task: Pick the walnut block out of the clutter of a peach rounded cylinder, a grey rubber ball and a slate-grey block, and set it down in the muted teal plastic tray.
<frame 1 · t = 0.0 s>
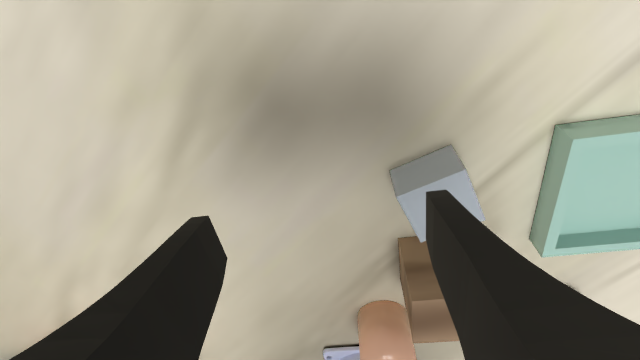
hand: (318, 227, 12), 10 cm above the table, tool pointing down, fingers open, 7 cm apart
peach rounded cylinder: (382, 316, 31), on the table
walnut block: (429, 256, 26), on the table
teal tray: (616, 180, 22), on the table
slate block: (429, 180, 23), on the table
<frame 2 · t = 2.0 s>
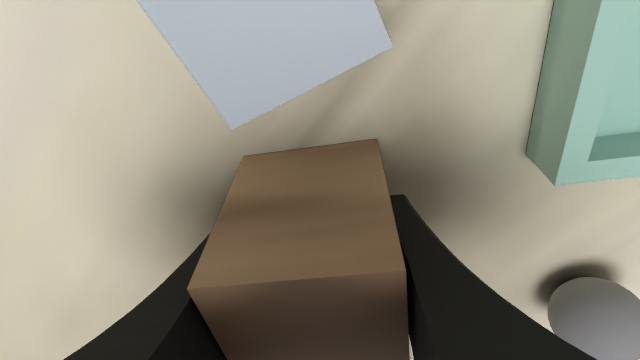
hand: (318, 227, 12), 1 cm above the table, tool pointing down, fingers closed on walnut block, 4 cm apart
grey ball: (596, 319, 14), point 2 cm above the table
walnut block: (319, 201, 13), on the table, touching gripper
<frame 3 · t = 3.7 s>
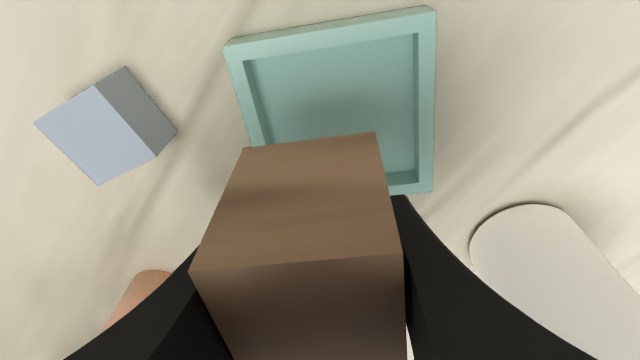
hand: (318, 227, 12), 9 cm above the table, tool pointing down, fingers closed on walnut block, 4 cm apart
peach rounded cylinder: (161, 289, 27), on the table
walnut block: (318, 193, 13), point 7 cm above the table, touching gripper
teal tray: (338, 113, 18), on the table
can: (515, 236, 23), on the table
slate block: (126, 115, 19), on the table
when the fingers open (3 cm above the table, at t = 5.2 s): walnut block stays where it is, resting on teal tray.
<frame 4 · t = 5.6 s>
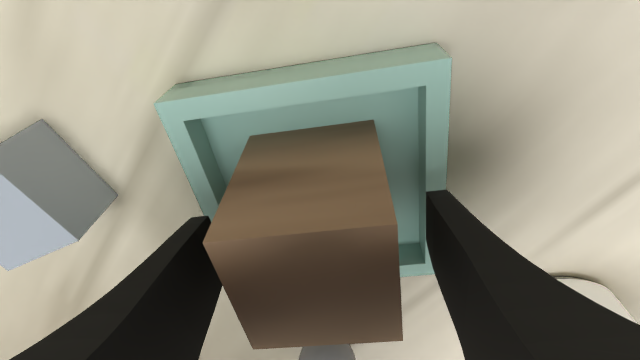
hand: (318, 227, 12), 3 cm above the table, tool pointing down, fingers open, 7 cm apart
walnut block: (320, 179, 14), point 1 cm above the table, touching teal tray
teal tray: (321, 174, 14), on the table
can: (542, 309, 19), on the table
slate block: (51, 174, 15), on the table
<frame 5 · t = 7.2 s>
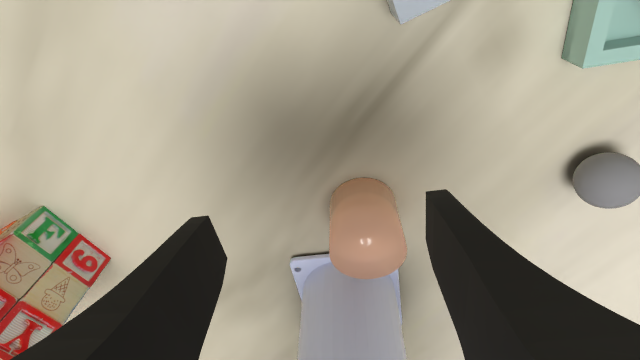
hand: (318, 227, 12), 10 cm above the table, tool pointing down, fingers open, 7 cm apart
peach rounded cylinder: (362, 204, 24), on the table
grey ball: (607, 180, 20), point 2 cm above the table
stack of blocks: (0, 274, 29), on the table
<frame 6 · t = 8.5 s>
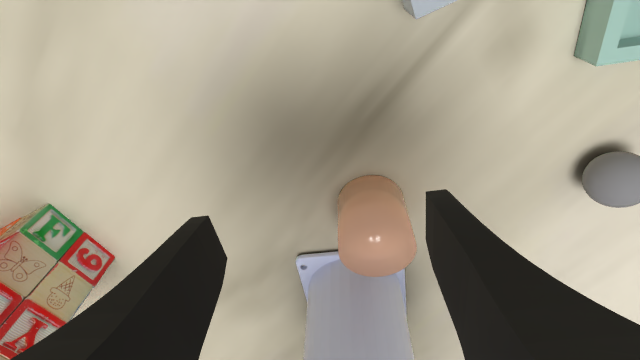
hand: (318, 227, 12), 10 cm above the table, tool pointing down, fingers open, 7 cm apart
peach rounded cylinder: (370, 202, 23), on the table
grey ball: (617, 179, 20), point 2 cm above the table
stack of blocks: (2, 271, 29), on the table
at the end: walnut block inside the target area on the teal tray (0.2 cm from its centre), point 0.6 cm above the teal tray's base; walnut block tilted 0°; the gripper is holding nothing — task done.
